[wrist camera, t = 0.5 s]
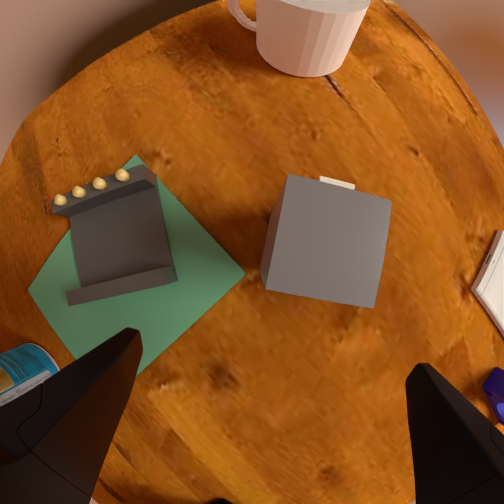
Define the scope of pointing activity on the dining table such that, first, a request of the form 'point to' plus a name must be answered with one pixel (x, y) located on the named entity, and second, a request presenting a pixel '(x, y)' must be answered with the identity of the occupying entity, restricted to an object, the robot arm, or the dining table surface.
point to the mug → (303, 32)
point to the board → (145, 301)
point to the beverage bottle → (24, 370)
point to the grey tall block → (326, 241)
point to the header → (117, 235)
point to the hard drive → (492, 282)
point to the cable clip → (496, 392)
